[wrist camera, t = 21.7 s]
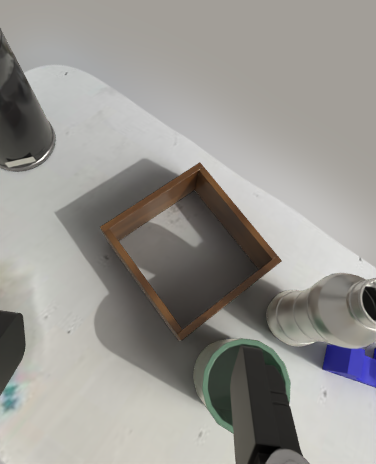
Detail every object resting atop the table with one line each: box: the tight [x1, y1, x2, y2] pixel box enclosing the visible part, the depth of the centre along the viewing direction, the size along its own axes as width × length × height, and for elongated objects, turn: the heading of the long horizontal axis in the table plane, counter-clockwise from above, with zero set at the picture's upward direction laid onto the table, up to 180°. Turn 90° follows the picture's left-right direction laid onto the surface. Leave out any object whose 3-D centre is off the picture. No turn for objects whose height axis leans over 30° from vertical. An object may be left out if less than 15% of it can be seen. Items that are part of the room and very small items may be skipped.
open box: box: [100, 163, 282, 341], centre depth 43 cm, size 16×15×6 cm
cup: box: [193, 338, 291, 434], centre depth 37 cm, size 8×8×10 cm
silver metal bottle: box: [266, 273, 376, 349], centre depth 34 cm, size 6×7×20 cm
